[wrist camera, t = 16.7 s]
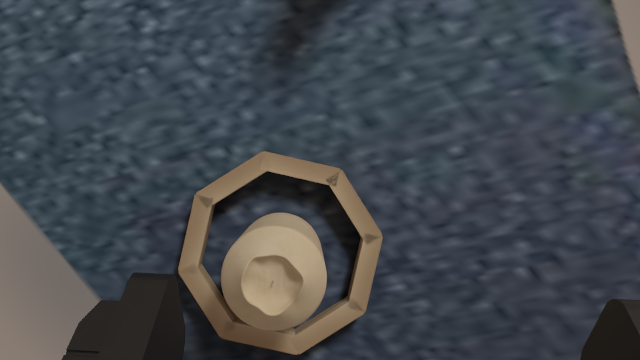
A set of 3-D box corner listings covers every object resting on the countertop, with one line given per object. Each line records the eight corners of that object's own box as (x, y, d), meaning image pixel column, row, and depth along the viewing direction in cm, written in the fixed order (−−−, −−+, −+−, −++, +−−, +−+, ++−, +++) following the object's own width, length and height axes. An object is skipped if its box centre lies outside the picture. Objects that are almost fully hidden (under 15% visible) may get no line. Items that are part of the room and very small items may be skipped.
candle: (321, 212, 38) (328, 229, 28) (321, 293, 38) (327, 339, 28) (239, 211, 37) (216, 228, 27) (239, 293, 38) (216, 339, 28)
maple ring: (170, 319, 37) (165, 326, 36) (211, 139, 37) (207, 138, 36) (350, 359, 38) (352, 367, 36) (392, 180, 38) (395, 181, 36)
